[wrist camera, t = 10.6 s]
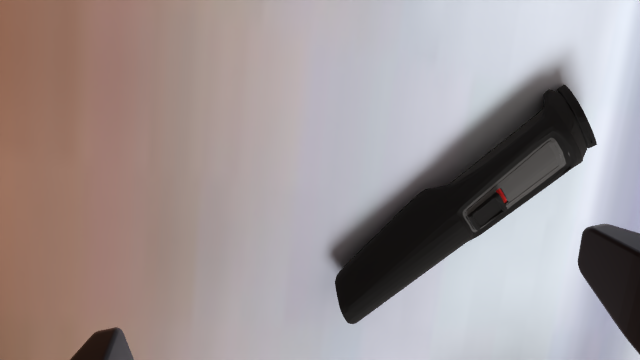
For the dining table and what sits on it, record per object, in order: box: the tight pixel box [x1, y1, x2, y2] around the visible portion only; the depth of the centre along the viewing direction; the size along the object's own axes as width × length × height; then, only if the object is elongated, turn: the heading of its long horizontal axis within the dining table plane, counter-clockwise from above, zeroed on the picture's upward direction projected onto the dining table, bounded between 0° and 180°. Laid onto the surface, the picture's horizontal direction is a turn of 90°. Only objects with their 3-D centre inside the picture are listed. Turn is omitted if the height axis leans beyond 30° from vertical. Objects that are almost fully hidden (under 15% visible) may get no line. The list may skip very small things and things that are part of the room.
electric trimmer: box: [335, 85, 597, 324], centre depth 24 cm, size 4×16×3 cm, turn 124°
